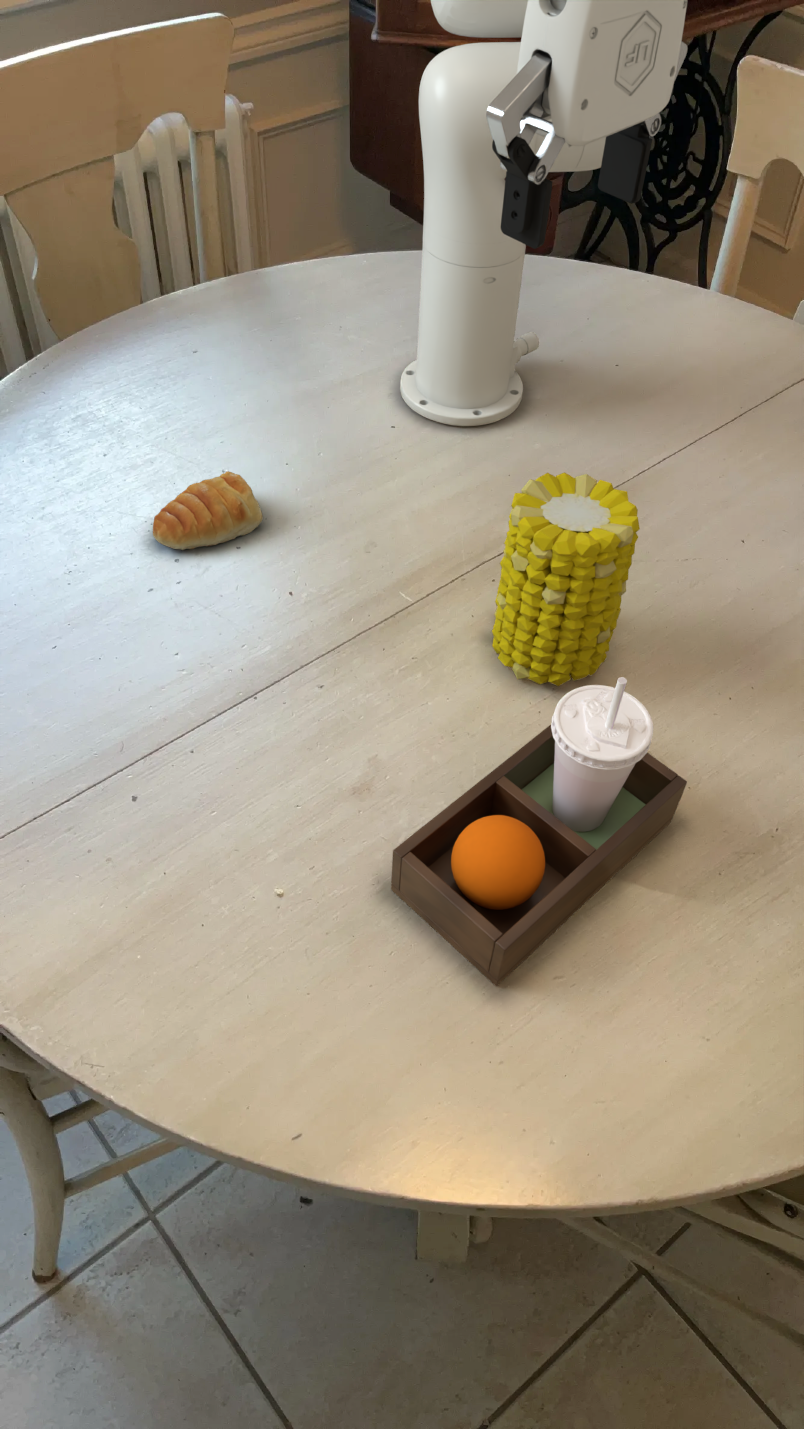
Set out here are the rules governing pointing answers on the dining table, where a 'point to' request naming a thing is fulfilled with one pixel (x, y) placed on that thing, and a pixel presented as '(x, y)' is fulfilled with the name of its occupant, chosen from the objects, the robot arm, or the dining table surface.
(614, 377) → the dining table surface
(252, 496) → the pastry
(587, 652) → the food
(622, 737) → the smoothie
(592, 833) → the tray
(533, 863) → the clementine
